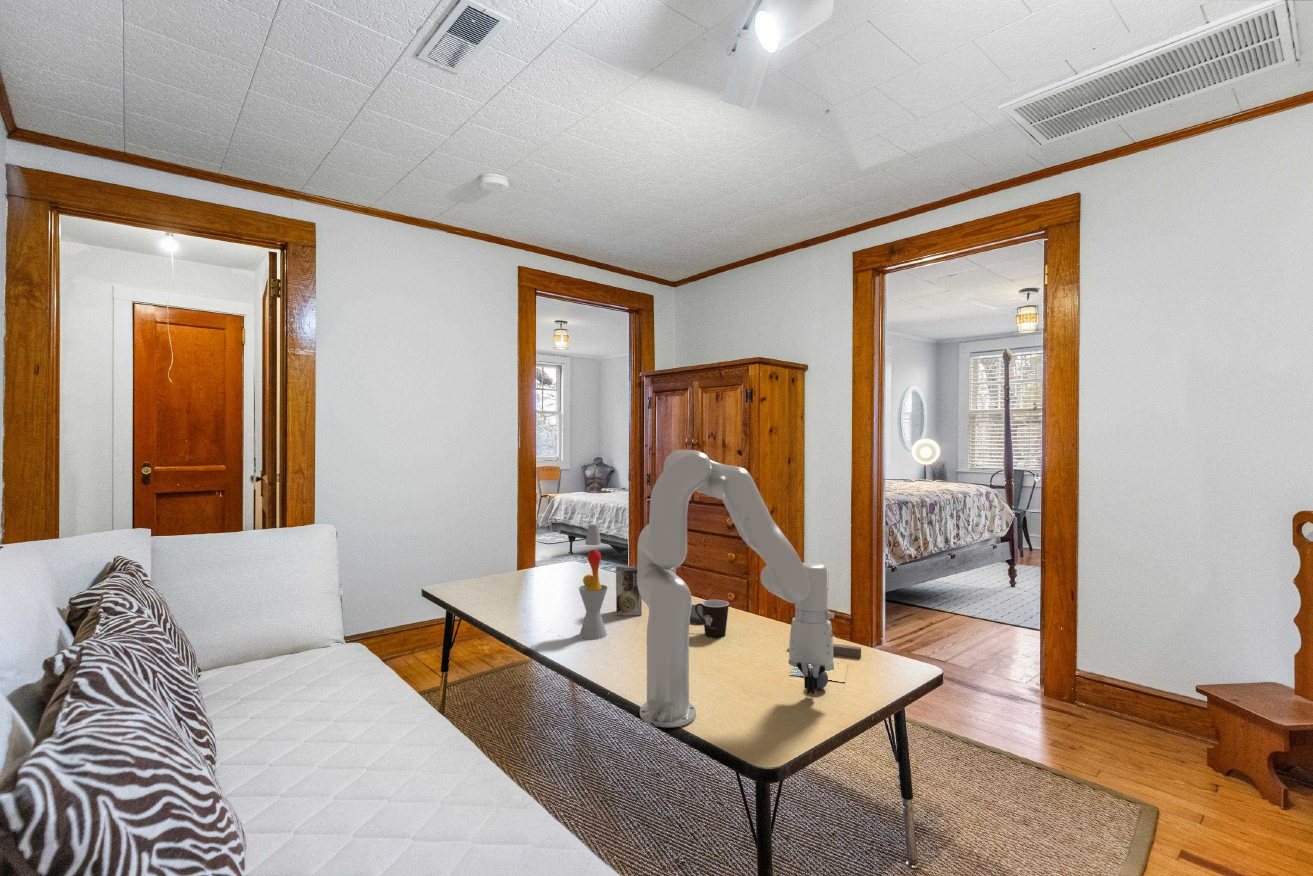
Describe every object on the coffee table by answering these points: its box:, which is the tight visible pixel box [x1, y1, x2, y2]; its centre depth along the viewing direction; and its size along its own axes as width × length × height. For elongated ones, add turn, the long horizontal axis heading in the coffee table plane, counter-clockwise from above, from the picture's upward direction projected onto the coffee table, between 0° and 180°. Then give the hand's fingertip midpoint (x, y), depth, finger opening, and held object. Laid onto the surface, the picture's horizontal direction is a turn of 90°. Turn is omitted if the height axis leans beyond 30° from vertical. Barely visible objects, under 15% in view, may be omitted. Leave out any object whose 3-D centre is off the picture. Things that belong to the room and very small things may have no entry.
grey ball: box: [810, 668, 829, 690], centre depth 152 cm, size 5×5×5 cm
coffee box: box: [615, 565, 643, 616], centre depth 217 cm, size 9×6×16 cm
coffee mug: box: [695, 599, 730, 639], centre depth 195 cm, size 12×9×10 cm
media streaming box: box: [690, 604, 704, 625], centre depth 213 cm, size 15×15×3 cm
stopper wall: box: [789, 640, 862, 658], centre depth 177 cm, size 2×20×2 cm, turn 69°
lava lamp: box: [578, 523, 608, 640], centre depth 193 cm, size 9×9×35 cm
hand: (811, 691), depth 147 cm, fingers closed
